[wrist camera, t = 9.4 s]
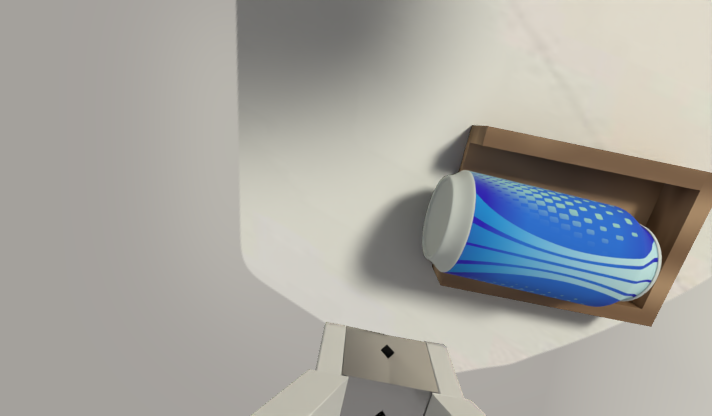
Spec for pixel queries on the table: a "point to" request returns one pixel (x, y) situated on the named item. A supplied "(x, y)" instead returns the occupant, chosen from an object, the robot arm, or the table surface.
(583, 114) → the table surface
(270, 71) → the table surface
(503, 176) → the open box
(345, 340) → the robot arm
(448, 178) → the beer can
